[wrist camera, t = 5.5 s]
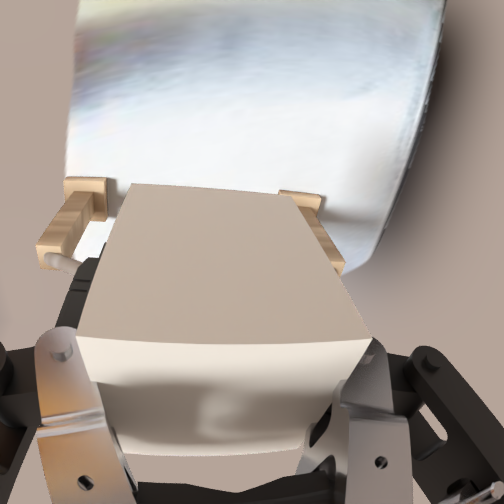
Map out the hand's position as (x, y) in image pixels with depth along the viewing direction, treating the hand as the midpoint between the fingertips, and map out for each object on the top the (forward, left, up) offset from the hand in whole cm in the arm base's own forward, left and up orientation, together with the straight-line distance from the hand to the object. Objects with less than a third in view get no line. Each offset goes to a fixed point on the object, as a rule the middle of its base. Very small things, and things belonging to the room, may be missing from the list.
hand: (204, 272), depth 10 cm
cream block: (0, 0, -1) cm, 1 cm away
